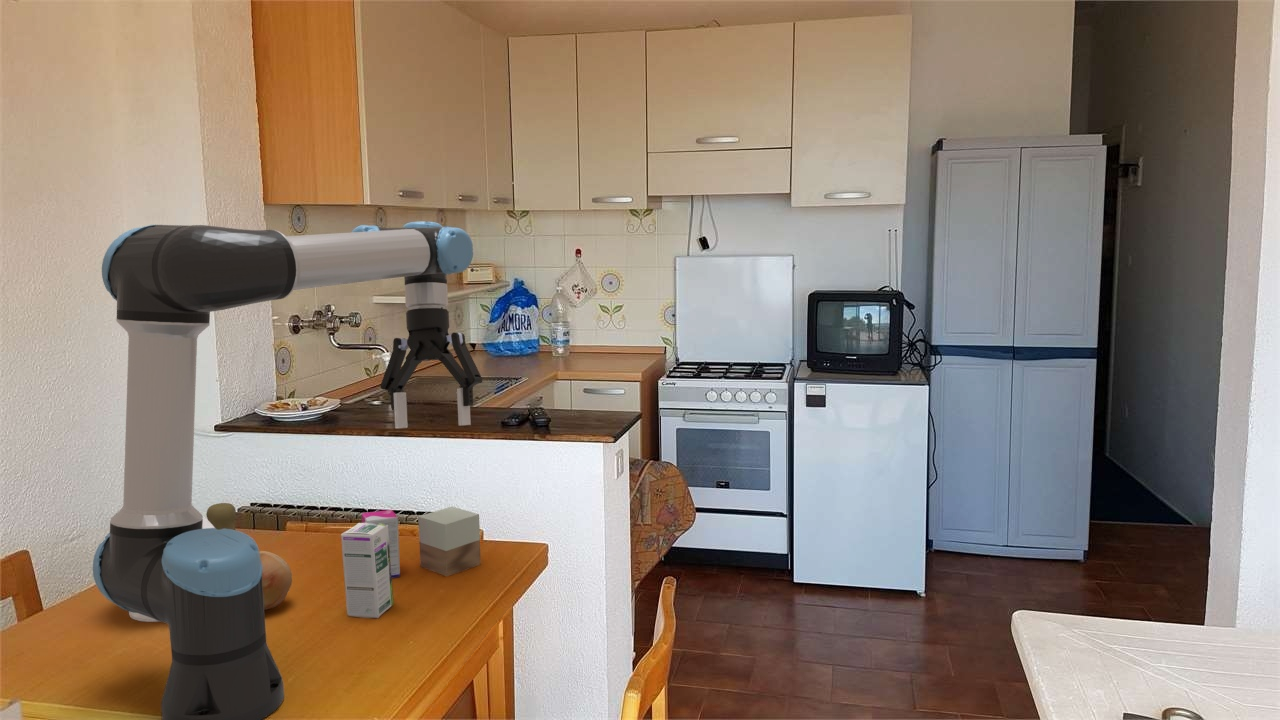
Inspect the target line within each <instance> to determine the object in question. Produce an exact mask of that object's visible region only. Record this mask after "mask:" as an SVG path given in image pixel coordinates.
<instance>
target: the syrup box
mask: <svg viewBox="0 0 1280 720" xmlns="http://www.w3.org/2000/svg"><path fill="white" fill-rule="evenodd" d="M340 538H341V551H342V562H343V563H342V565H343V576H344V577H343V580H344V590H345V591H344V592H345V602H346V604H345V605H346V615H347V616H348V617H356V618H367V619H379V618H380V616H382V615H383V614H384V613H385V612H386V611H388V610H389V609H390V608H391V607H392V606H393V605H394V595H393V593H394V591H393V581H392V580H393V578H392V576H391V561H390V547H389V533H388V525H387V524H381V523H362V522H358V523H356V525H354V526H353V527H351V528H349V529H347V530H345V531H344V532H342V533H341V534H340Z"/></svg>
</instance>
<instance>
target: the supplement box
mask: <svg viewBox="0 0 1280 720" xmlns="http://www.w3.org/2000/svg"><path fill="white" fill-rule="evenodd" d="M361 523H381V524H387V525H388V533H389V547H390V561H391V576H392V579H394V578H399V577H401V568H400V567H401V565H400V537H399V534H400V533H399V532H400V531H399V517H398V516H397V514H396V513H395V512H394V511H393V510H392V509H387V510H379V511H370V512H363V513H361Z"/></svg>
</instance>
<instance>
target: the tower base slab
mask: <svg viewBox="0 0 1280 720" xmlns="http://www.w3.org/2000/svg"><path fill="white" fill-rule="evenodd" d="M481 558H482V557H481V539H480V540H478V541H475V542H472V543H469V544H466V545H463V546H460V547H457V548H454V549H451V550H448V551H445V550H442V549H439V548H436V547H433V546H430V545H427V544H424V543H421V542H419V559H420V560H419V561H420V563H419V564H420V567H421V568H423V569H425V570H429V571H430V572H431V571H432V572H434V573H437V574H439V575H442V576H444V577H449V576H451V575H455V574H458V573H460V572H463V571H464V572H465V571H466V570H469V569H472V568H475V567H477V566H480V565H482V561H481V560H482V559H481Z"/></svg>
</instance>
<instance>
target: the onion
mask: <svg viewBox="0 0 1280 720" xmlns="http://www.w3.org/2000/svg"><path fill="white" fill-rule="evenodd" d="M259 554H260V559H261V563H262V567H263V571H262V585H263V601H264V611H265V610H266V611H267V610H269V609H274V608H277V607H278V606H280V604H281V603H282V602H283V601H284V600H285V599H286V597H287V595H288V593H289V591H290V588H291V586H292V583H293V576H292V575H293V574H292V570H291V568H290V566H289V564H288V563H287V562H286V561H285V560H284V559H283V558H282V557H280V556H279V555H278V554H275V553H273V552H270V551H266V550H259Z"/></svg>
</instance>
